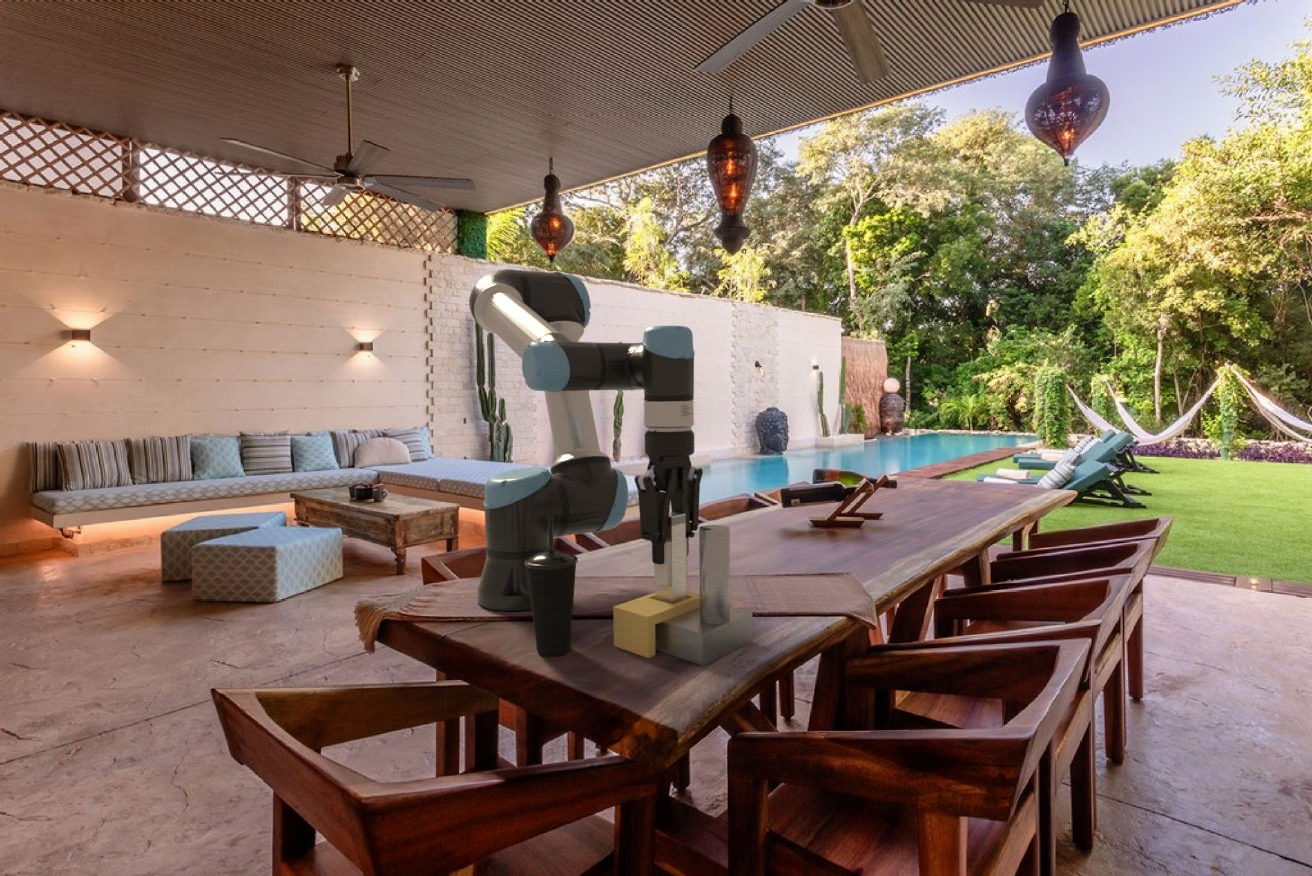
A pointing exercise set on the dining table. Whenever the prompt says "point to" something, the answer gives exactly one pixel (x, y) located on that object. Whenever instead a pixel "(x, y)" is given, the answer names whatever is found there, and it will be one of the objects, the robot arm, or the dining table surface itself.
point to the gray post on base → (708, 608)
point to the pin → (675, 560)
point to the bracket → (646, 621)
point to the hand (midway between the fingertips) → (671, 580)
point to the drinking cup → (552, 597)
